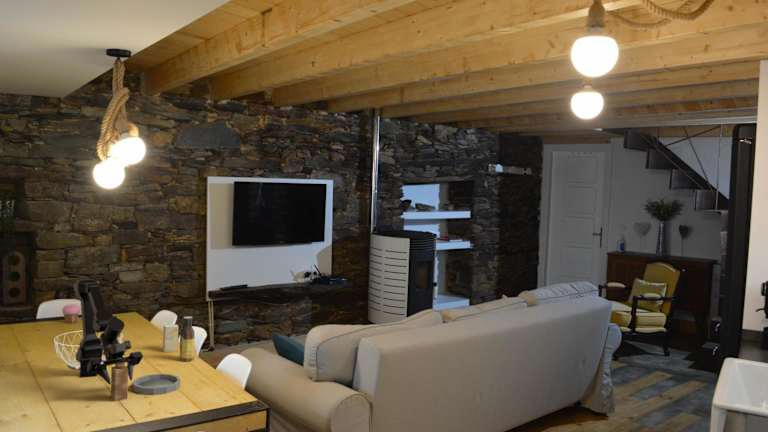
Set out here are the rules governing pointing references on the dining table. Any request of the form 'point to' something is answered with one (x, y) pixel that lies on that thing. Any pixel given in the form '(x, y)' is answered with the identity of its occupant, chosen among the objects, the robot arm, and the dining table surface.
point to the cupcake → (71, 313)
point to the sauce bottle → (187, 340)
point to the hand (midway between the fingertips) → (120, 381)
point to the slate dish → (156, 384)
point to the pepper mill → (119, 382)
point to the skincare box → (170, 338)
